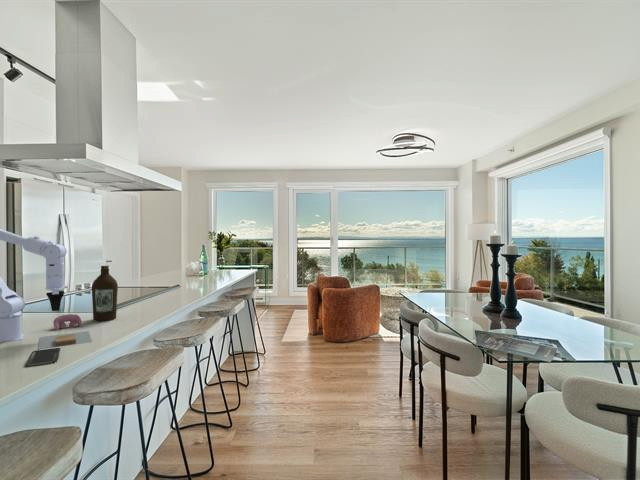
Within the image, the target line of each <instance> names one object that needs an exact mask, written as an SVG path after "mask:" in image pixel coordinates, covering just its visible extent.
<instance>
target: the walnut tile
mask: <svg viewBox="0 0 640 480" xmlns="http://www.w3.org/2000/svg"><path fill="white" fill-rule="evenodd" d="M55 343H56V346H60V347H62V346H61V345H67V346H69V345H68V344H75V343H76V337H75V334H73V335H65V336H57V337H55ZM75 345H76V344H75Z"/></svg>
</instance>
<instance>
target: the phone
mask: <svg viewBox="0 0 640 480" xmlns="http://www.w3.org/2000/svg"><path fill="white" fill-rule="evenodd" d="M61 348H62V347H61ZM61 348H60V347H53V348H46V349H39V350H38V349H37V350H33V351H32V352H31V354H30V355H29V357H28V359H27V361H26V362H25V367H26V368H29V367H30V368H31V367H37V366H44V365H45V364H46V365H52V364H51V363H53V364H56V363H58V361H57V360H59V357H60V354H61ZM55 362H56V363H55Z"/></svg>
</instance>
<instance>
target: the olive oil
mask: <svg viewBox="0 0 640 480" xmlns="http://www.w3.org/2000/svg"><path fill="white" fill-rule="evenodd" d="M118 288H119V285H118V281H117V280H116V279H115V278H114V277H113V276H112V275H111V274H110V268H109V265H100V274H99V275H98V276H97V277H96V278H95V279H94V280H93V282H92V284H91V299H92V301H91V302H92V319H93V321H94V322H107V321H113V320H115V319H117V311H118V309H117V308H118V307H117V306H118V290H119V289H118Z"/></svg>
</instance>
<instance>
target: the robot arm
mask: <svg viewBox="0 0 640 480" xmlns="http://www.w3.org/2000/svg"><path fill="white" fill-rule="evenodd" d="M0 241H2V242H7V243H9V244H13V245H17V246H21V248H22V249H23V250H24V251H25V252H29V253H31V254H35V255H39V256H42V257H44V259H45V290H46V291H50V292H46V296H47V298H48V300H49V303H50V308H51V309H50V310H51V311H52V312H59V311H60V308H61V303H62V298H63V297H64V295H65V290H64V289H68V288H69V286H68V285H65V256H66V255H67V252H68V251H67V247H66V246H64V245H63V244H62V243H55V244H54V242H53V241H51V240H49V241H48V240H45V239H41V238H40V236H37V235H35V236H29V237H25V236H22V235H18V234H16V233H14V232H10V231H8V230H5V229H1V228H0ZM25 308H26V301H25V300H24V298H23V297H21V296H19V295H18V294H17V292H15V290H12V289H10V287H9V286H7V284H6V283H5V281H4V280H3V278H2V276H1V275H0V343H4V342H5V343H6V342H12V341H13V342H14V341H21V340H23V338H24V335H25V333H24V332H23V331H22V330H23V329H22V328H23V323H22V320H23V319H22V311H23V310H24V309H25Z"/></svg>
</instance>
